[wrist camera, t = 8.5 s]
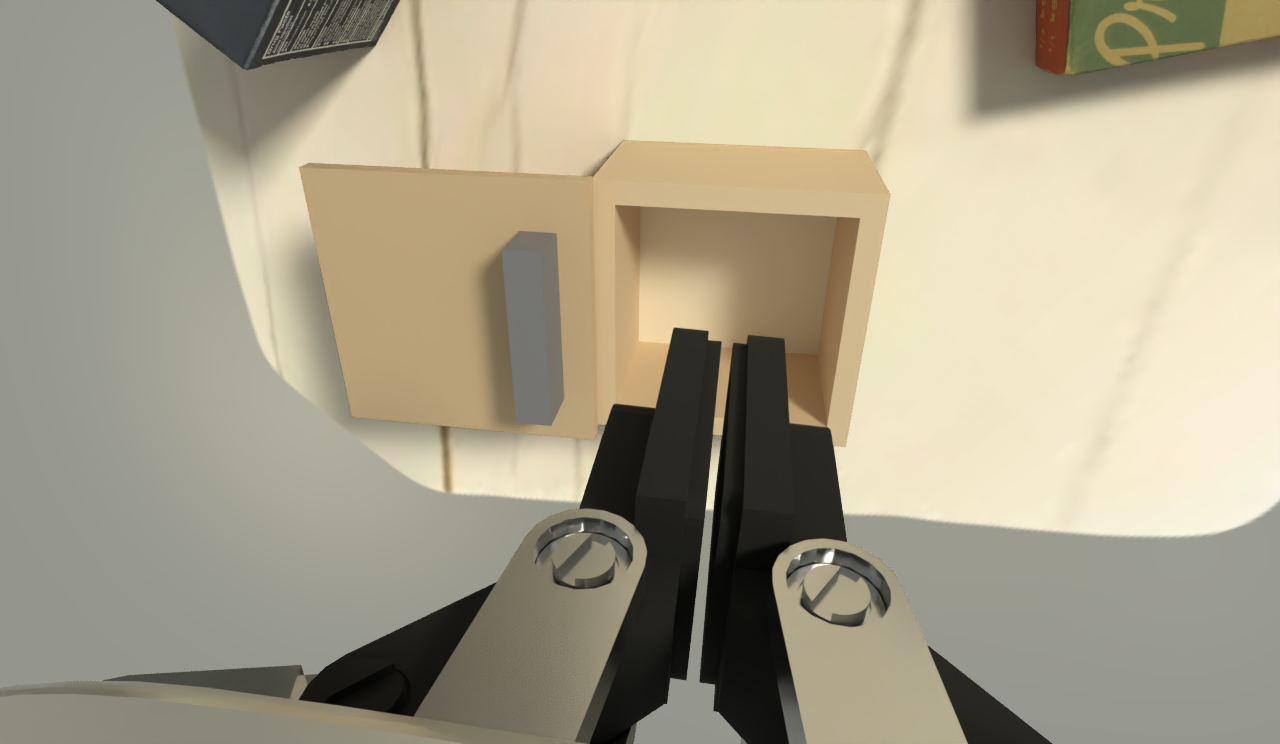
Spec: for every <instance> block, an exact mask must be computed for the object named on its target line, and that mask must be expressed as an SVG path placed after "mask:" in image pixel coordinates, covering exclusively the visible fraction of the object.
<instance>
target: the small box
mask: <svg viewBox="0 0 1280 744" xmlns="http://www.w3.org/2000/svg"><path fill="white" fill-rule="evenodd" d="M156 1H157V2H159V3H160V4H161V5H163V6H164V7H165V8H166V9H168V10H169V11H170V12H171V13H172V14H174V15H175V16H176V17H177V18H179V19H180V20H181V21H183V22H184V23H186V24H187V25H188V26H189V27H190V28H192V29H193V30H194V31H195V32H197V33H198V34H199V35H200V36H202V37H203V38H204V39H206V40H207V41H208V42H209V43H211V44H212V45H213V46H214V47H216V48H217V49H218V50H220V51H221V52H222V53H224V54H225V55H226V56H227V57H229V58H230V59H231V60H232V61H234V62H235V63H236V64H238V65H239V66H240V67H242V68H243V69H246V70H249V69H254V68H258V67H260V66H262V65H267V64H271V63H274V62H279V61H284V60H290V59H292V58H293V59H296V58H304V57H308V56H312V55H319V54H324V53H331V52H336V51H343V50H348V49H354V48H362V47H367V46H368V47H373V46H375V45H376V43H377V41H378V39H379V37H380V35H381V33H382V32H383V30H384V28H385V26H386V25H387V23H388V21H389V19H390V17H391V15H392V14H393V12H394V10H395V8H396V6H397V4H398V2H399V0H156Z"/></svg>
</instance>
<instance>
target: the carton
mask: <svg viewBox="0 0 1280 744" xmlns="http://www.w3.org/2000/svg"><path fill="white" fill-rule="evenodd" d="M1279 36H1280V0H1037V3H1036V65H1037V66H1038V67H1040V68H1041V69H1043V70H1044V71H1045V70H1046V71H1047V72H1050V73H1054V74H1056V75H1077V74H1082V73H1088V72H1093V71H1099V70H1103V69H1108V68H1114V67H1120V66H1125V65H1131V64H1136V63H1141V62H1146V61H1151V60H1156V59H1162V58H1167V57H1172V56H1178V55H1183V54H1189V53H1194V52H1199V51H1204V50H1210V49H1214V48H1219V47H1224V46H1230V45H1236V44H1242V43H1247V42H1252V41H1257V40H1262V39H1268V38H1273V37H1279Z"/></svg>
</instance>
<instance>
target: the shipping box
mask: <svg viewBox="0 0 1280 744" xmlns="http://www.w3.org/2000/svg"><path fill="white" fill-rule="evenodd" d="M889 200H890V193H889V191H888V189H887V187H886V186H885V184H884V182H883V180H882V178H881V176H880V175H879V173H878V171H877V169H876V167H875V166H874V164H873V162H872V160H871V158H870V157H869V155H868V153H867V151H860V150H836V149H812V148H789V147H765V146H741V145H718V144H694V143H671V142H647V141H623V142H622V143H621V144H620V145H619V146H618V148H617V149H616V150H615V151H614V152H613V154H612V155H611V156H610V157H609V158H608V160H607V161H606V162H605V163H604V164H603V166H602V167H601V168H600V169H599V170H598V172H597V173H596V174H595V175H594V176H593V216H594V265H595V314H596V363H597V412H598V424H601V425H606V423H607V420H608V417H609V414H610V411H611V408H612V406H613V404H624V405H633V406H642V407H651V408H656V403H657V399H658V394H659V390H660V385H661V381H662V377H663V372H664V368H665V363H666V359H667V354H668V350H669V345H670V341H671V337H672V332H673V328H674V327H676V328H686V329H695V330H705V331H709V336H708V340H712V341H722V345H721V355H720V366H719V376H718V386H717V397H716V407H715V417H714V428H713V435H720V436H722V431H723V423H724V414H725V406H726V398H727V389H728V381H729V372H730V364H731V356H732V348H733V343H742V344H747V338H748V335H755V336H765V337H775V338H784V340H785V354H786V371H787V388H788V404H789V421H790V423H793V424H802V425H811V426H820V427H828V428H829V429H830V430H831V434H832V440H833V446H840V447H846V443H847V437H848V431H849V426H850V420H851V414H852V409H853V403H854V397H855V392H856V386H857V380H858V375H859V369H860V364H861V358H862V352H863V347H864V341H865V335H866V330H867V324H868V318H869V313H870V307H871V302H872V296H873V290H874V285H875V279H876V273H877V268H878V262H879V256H880V251H881V245H882V239H883V234H884V228H885V223H886V217H887V211H888V206H889Z"/></svg>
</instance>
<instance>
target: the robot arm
mask: <svg viewBox="0 0 1280 744" xmlns="http://www.w3.org/2000/svg"><path fill="white" fill-rule="evenodd" d="M708 336H709V331H705V330H695V329H686V328H676V327H674V328H673V332H672V337H671V341H670V345H669V350H668V354H667V359H666V363H665V368H664V372H663V377H662V381H661V385H660V390H659V394H658V399H657V403H656V408H651V407H642V406H633V405H624V404H613V406H612V408H611V411H610V414H609V417H608V420H607V423H606V427H605V430H604V433H603V436H602V439H601V442H600V445H599V449H598V452H597V455H596V458H595V461H594V464H593V467H592V470H591V474H590V477H589V480H588V483H587V486H586V489H585V492H584V496H583V499H582V502H581V505H580V508H579V509H576V510H567V511H564V512H560V513H557V514H554V515H551V516H549V517H548V518H546V519H544V520H543V521H541V522H540V523H538V524H536V525H535V527H533V529H532V530H531V531H530V532H529V533H528V534H527V535H526V536H525V538H524V540H523V541H522V543H521V544H520V546H519V548H518V549H517V551H516V552H515V554H514V556H513V557H512V559H511V560H510V562H509V564H508V565H507V567H506V569H505V570H504V572H503V573H502V575H501V577H500V578H499V580H498V581H497V582H496V583H494V584H492V585H490V586H488V587H486V588H484V589H481V590H479V591H477V592H475V593H473V594H471V595H469V596H467V597H465V598H463V599H461V600H459V601H456V602H454V603H452V604H450V605H448V606H446V607H444V608H442V609H440V610H438V611H436V612H433V613H431V614H429V615H427V616H426V617H423V618H421V619H419V620H417V621H415V622H413V623H411V624H408V625H406V626H404V627H402V628H400V629H398V630H396V631H394V632H392V633H390V634H388V635H386V636H383V637H381V638H379V639H377V640H375V641H373V642H371V643H369V644H367V645H365V646H363V647H361V648H359V649H357V650H355V651H352V652H350V653H348V654H346V655H345V656H343V657H341V658H340V659H338V660H336V661H335V662H333V663H331V664H330V665H328V666H327V667H325V668H324V669H323V670H322V671H321V672H320V673H319V674H313V675H304V673H303V670H302V666H301V665H292V666H275V667H258V668H241V669H224V670H207V671H190V672H173V673H156V674H139V675H127V676H122V677H117V678H112V679H107V680H103V681H66V682H53V683H41V684H28V685H15V686H9V687H4V688H0V744H633V743H634V738H635V732H636V726H637V722H638V721H639V720H641V719H642V718H644V717H645V716H647V715H648V714H650V713H651V712H652V711H654V710H656V709H657V708H659V707H660V706H662V705H663V704H667V700H668V691H669V683H670V678H674V679H681V680H686V678H687V669H688V660H689V651H690V643H691V633H692V625H693V616H694V607H695V598H696V589H697V580H698V571H699V562H700V554H701V545H702V536H703V527H704V517H705V509H706V499H707V489H708V479H709V469H710V458H711V448H712V438H713V428H714V417H715V407H716V397H717V386H718V376H719V366H720V355H721V345H722V341H712V340H708ZM700 682H701V683H708V684H715V695H714V711H716V712H719V713H720V714H721V715H722V716H723V717H724V719H725V720H726V721H727V722H728V723H729V724H730V725H731V726H732V727H733V729H734V730H735V731H736V732H737V733H738V734H739V735H740V736H741V744H1052V743H1050V742H1049V741H1048V740H1047V739H1046V738H1044V737H1043V736H1042V735H1041V734H1039V733H1038V732H1037V731H1036V730H1034V729H1033V728H1032V727H1030V726H1029V725H1028V724H1027V723H1025V722H1024V721H1023V720H1022V719H1020V718H1019V717H1018V716H1017V715H1015V714H1014V713H1013V712H1011V711H1010V710H1009V709H1008V708H1006V707H1005V706H1004V705H1003V704H1001V703H1000V702H999V701H997V700H996V699H995V698H994V697H992V696H991V695H990V694H989V693H987V692H986V691H985V690H984V689H982V688H981V687H980V686H979V685H977V684H976V683H975V682H973V681H972V680H971V679H970V678H968V677H967V676H966V675H965V674H963V673H962V672H961V671H959V670H958V669H957V668H956V667H954V666H953V665H952V664H951V663H949V662H948V661H947V660H945V659H944V658H943V657H942V656H941V655H939V654H938V653H937V652H935V651H934V650H933V649H931V648H930V647H929V646H927V644H926V642H925V639H924V636H923V634H922V632H921V630H920V627H919V624H918V622H917V619H916V617H915V615H914V612H913V610H912V607H911V605H910V603H909V600H908V598H907V595H906V593H905V590H904V588H903V586H902V584H901V583H900V581H899V579H898V578H897V576H896V574H895V573H894V571H893V570H892V569H891V568H890V567H888V566H887V565H886V564H885V563H884V562H883V561H882V560H881V559H880V558H879V557H877V556H875V555H873V554H872V553H870V552H868V551H867V550H865V549H863V548H861V547H858V546H856V545H853V544H850V543H847V539H846V531H845V524H844V517H843V510H842V503H841V496H840V489H839V482H838V475H837V468H836V461H835V454H834V447H833V440H832V434H831V430H830V429H829V428H828V427H820V426H811V425H802V424H793V423H790V421H789V404H788V388H787V371H786V354H785V340H784V338H775V337H765V336H755V335H748V338H747V344H742V343H733V348H732V356H731V364H730V372H729V381H728V389H727V398H726V406H725V414H724V423H723V431H722V439H721V448H720V456H719V464H718V473H717V481H716V490H715V500H714V512H713V524H712V537H711V548H710V561H709V572H708V585H707V597H706V609H705V621H704V633H703V645H702V657H701V669H700Z"/></svg>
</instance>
